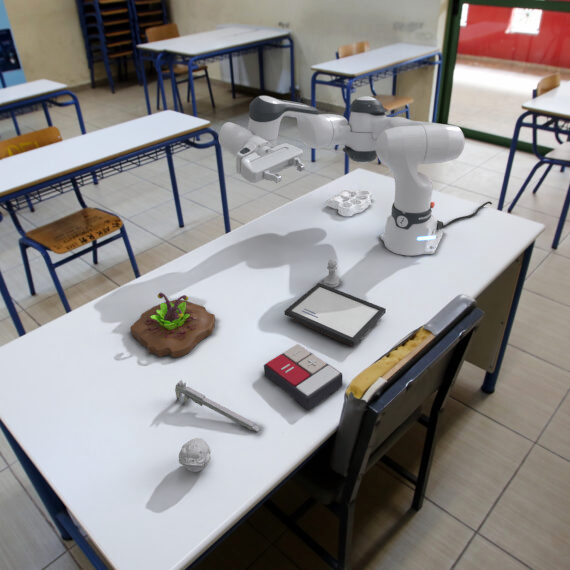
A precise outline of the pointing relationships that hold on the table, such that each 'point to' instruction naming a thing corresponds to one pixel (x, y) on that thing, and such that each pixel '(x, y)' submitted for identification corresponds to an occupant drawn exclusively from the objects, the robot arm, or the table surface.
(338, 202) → the white egg carton
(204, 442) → the frog figurine
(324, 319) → the whiteboard
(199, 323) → the plant
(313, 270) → the table surface
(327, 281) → the chess piece
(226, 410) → the caliper
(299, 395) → the calculator
